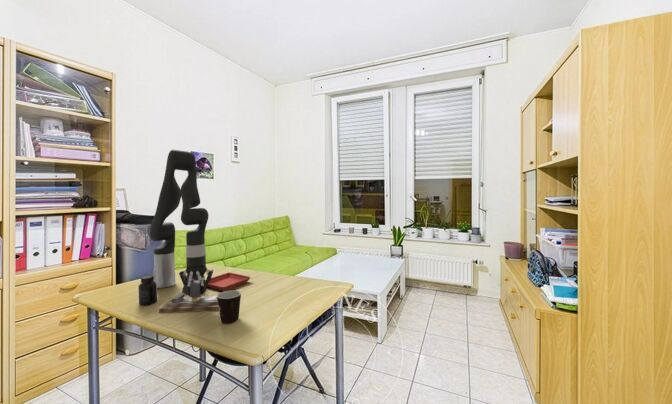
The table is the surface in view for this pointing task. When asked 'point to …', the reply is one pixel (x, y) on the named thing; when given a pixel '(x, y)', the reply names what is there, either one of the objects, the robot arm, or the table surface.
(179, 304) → the slider puzzle board
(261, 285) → the table surface
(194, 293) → the leg
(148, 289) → the supplement bottle
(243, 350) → the table surface
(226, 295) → the coffee mug
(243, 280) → the plant saucer
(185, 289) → the phone stand
